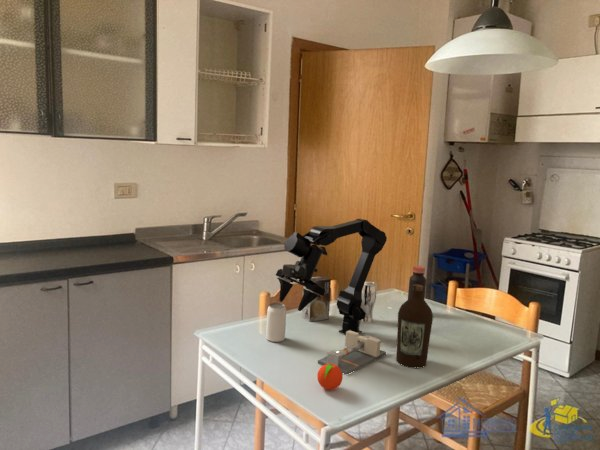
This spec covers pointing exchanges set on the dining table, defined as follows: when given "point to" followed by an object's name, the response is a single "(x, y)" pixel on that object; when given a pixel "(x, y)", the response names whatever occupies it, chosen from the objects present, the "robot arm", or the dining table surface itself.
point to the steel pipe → (344, 353)
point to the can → (276, 322)
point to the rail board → (354, 361)
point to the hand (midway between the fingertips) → (289, 306)
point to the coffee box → (318, 301)
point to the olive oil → (414, 330)
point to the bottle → (417, 279)
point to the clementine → (329, 376)
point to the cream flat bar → (369, 347)
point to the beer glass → (368, 300)
